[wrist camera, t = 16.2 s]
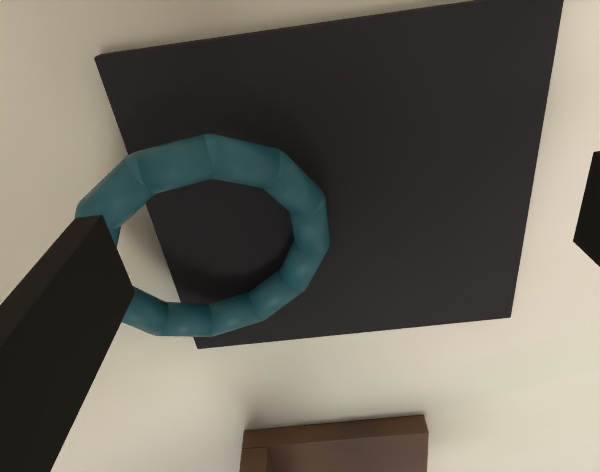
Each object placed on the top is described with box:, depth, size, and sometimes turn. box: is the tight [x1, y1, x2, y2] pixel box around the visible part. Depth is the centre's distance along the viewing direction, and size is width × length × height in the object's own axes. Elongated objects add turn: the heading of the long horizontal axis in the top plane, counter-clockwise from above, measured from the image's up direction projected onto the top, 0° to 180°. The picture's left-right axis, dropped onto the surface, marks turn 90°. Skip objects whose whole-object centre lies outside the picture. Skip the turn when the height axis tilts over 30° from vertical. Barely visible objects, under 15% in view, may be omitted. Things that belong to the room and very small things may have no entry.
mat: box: [94, 0, 564, 349], centre depth 23 cm, size 20×18×1 cm
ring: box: [75, 134, 330, 337], centre depth 21 cm, size 2×12×12 cm
